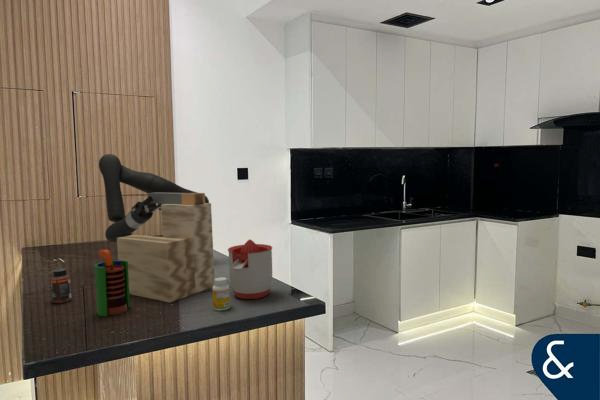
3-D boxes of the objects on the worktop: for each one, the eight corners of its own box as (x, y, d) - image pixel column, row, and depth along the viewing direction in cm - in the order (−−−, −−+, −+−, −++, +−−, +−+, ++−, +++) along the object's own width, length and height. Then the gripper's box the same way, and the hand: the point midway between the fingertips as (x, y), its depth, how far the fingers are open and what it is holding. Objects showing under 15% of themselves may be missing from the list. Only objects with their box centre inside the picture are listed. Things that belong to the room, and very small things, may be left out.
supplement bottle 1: (75, 299, 159) (73, 268, 158) (61, 304, 153) (59, 272, 152) (62, 298, 161) (60, 267, 160) (48, 303, 155) (46, 271, 154)
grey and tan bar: (158, 202, 181) (158, 192, 180) (205, 203, 167) (204, 193, 166) (146, 203, 175) (145, 193, 175) (193, 205, 162) (192, 194, 161)
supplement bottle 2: (214, 305, 147) (212, 277, 146) (230, 305, 148) (229, 276, 147) (212, 311, 142) (211, 281, 141) (229, 310, 142) (228, 280, 141)
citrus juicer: (218, 301, 152) (215, 243, 150) (243, 287, 168) (241, 235, 166) (259, 305, 146) (256, 245, 145) (281, 290, 162) (279, 236, 161)
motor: (115, 317, 139) (111, 254, 137) (90, 315, 141) (85, 253, 139) (133, 306, 149) (130, 247, 147) (110, 305, 151) (106, 247, 149)
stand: (166, 278, 185) (162, 201, 182) (214, 286, 170) (210, 203, 168) (120, 292, 166) (114, 207, 164) (169, 302, 152) (164, 209, 149)
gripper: (120, 210, 178) (141, 190, 170) (149, 206, 190) (171, 187, 182) (127, 226, 177) (149, 207, 168) (156, 221, 189) (178, 203, 180)
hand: (160, 197), depth 175 cm, fingers open, 8 cm apart
